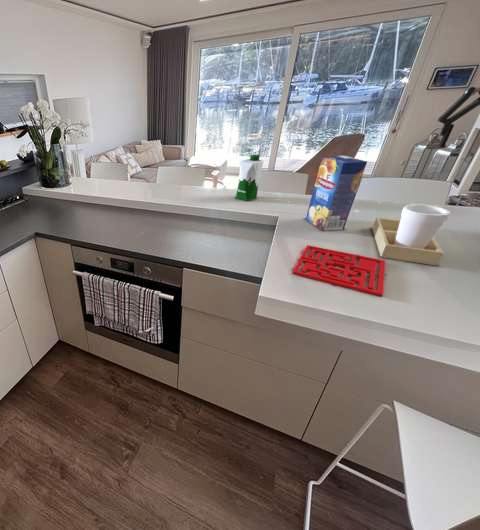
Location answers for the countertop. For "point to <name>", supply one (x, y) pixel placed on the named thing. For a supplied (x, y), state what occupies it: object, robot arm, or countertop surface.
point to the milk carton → (249, 178)
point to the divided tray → (385, 241)
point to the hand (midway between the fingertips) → (471, 147)
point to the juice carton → (335, 191)
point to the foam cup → (419, 225)
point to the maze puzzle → (364, 266)
